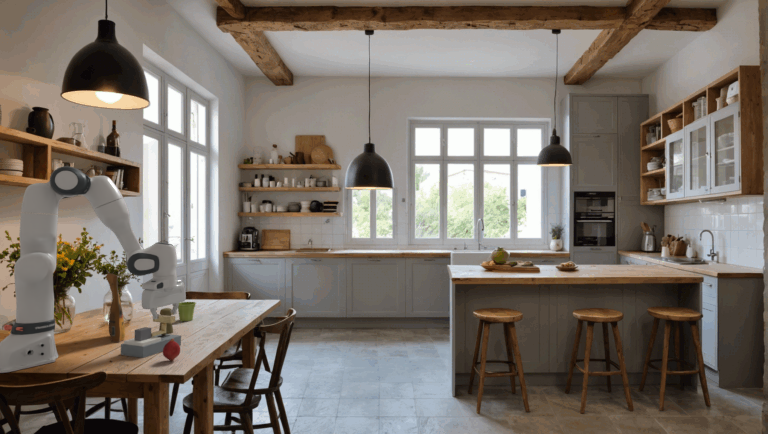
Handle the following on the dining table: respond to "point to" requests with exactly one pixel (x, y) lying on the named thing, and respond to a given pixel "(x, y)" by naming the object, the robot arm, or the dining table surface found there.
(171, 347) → the onion
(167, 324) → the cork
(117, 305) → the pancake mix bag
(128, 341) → the cover
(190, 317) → the plant pot
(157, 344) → the case
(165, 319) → the t key
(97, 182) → the robot arm
